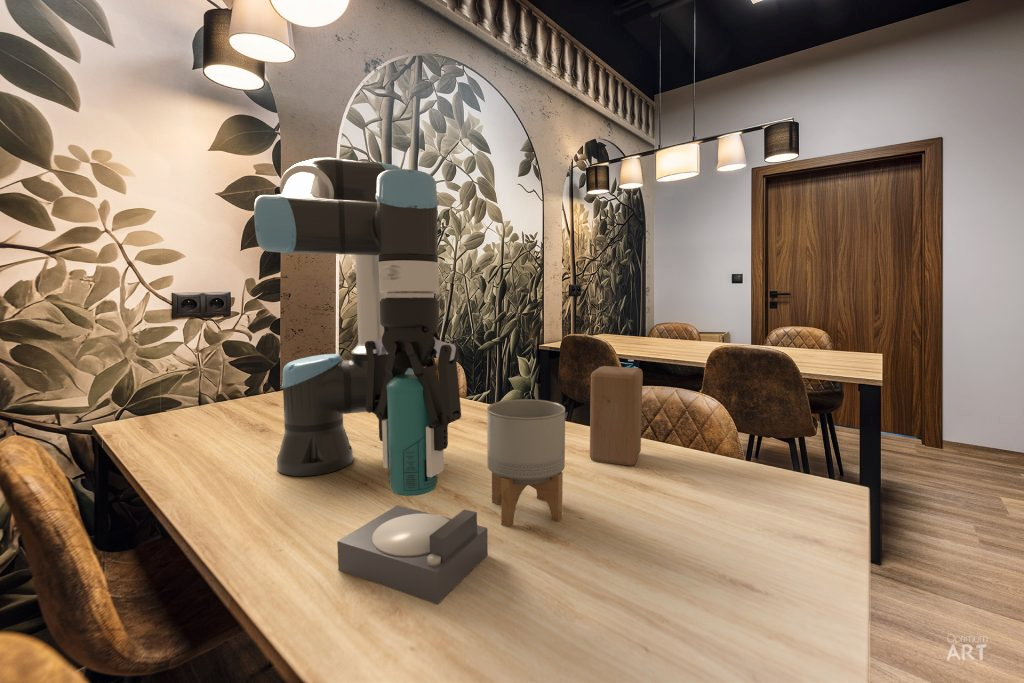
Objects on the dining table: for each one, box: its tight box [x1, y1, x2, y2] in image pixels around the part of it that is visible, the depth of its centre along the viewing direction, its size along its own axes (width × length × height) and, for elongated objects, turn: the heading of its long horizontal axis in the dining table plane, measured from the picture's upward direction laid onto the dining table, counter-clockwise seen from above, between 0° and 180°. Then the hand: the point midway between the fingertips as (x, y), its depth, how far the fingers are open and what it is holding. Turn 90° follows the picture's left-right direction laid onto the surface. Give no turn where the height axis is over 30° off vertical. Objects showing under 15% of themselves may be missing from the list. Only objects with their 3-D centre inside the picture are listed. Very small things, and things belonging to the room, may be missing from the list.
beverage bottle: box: [387, 351, 439, 497], centre depth 63 cm, size 6×7×20 cm
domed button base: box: [336, 505, 489, 605], centre depth 65 cm, size 16×12×7 cm
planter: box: [486, 398, 566, 528], centre depth 80 cm, size 13×13×18 cm
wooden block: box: [589, 365, 644, 466], centre depth 106 cm, size 10×10×20 cm
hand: (413, 468), depth 63 cm, fingers closed on beverage bottle, 6 cm apart
